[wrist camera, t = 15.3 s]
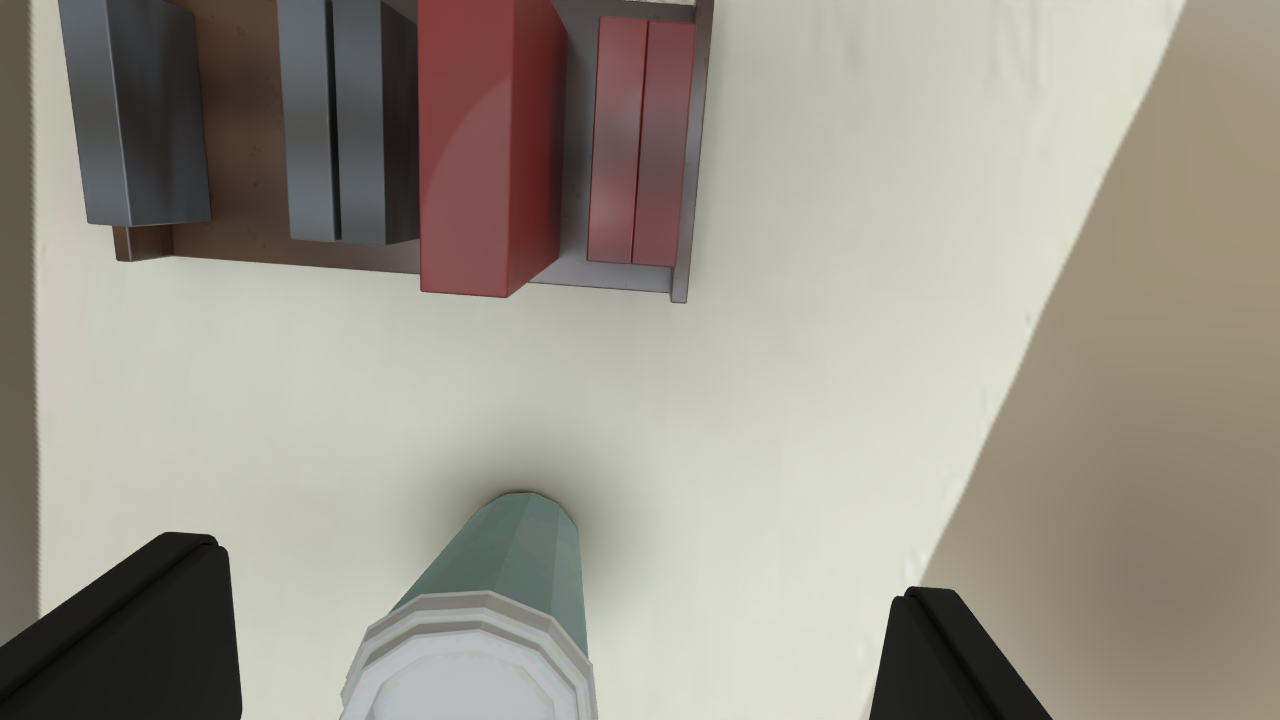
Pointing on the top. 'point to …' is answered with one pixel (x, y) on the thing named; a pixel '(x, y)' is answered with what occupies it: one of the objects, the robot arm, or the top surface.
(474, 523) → the disposable coffee cup
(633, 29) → the book rack
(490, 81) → the red book
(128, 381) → the top surface
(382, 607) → the top surface
